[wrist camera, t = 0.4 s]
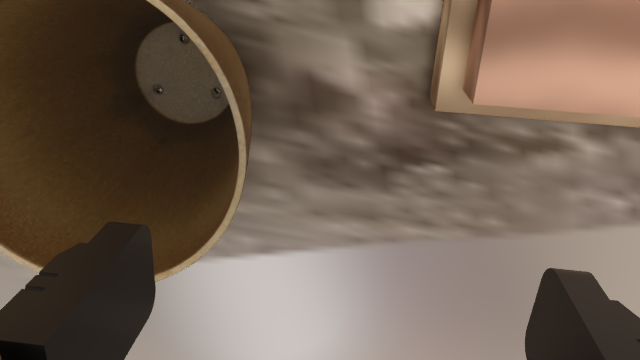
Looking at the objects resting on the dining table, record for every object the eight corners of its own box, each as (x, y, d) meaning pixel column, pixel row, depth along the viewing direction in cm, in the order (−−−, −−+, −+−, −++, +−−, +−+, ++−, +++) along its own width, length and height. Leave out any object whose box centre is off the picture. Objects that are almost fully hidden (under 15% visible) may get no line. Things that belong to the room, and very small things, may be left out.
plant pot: (224, 203, 41) (143, 339, 26) (57, 90, 39) (-134, 172, 24) (336, 50, 36) (313, 115, 21) (151, -92, 33) (-23, -131, 18)
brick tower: (460, -115, 31) (483, -134, 25) (684, -103, 30) (768, -118, 24) (429, 97, 36) (442, 127, 30) (619, 112, 36) (675, 146, 29)
